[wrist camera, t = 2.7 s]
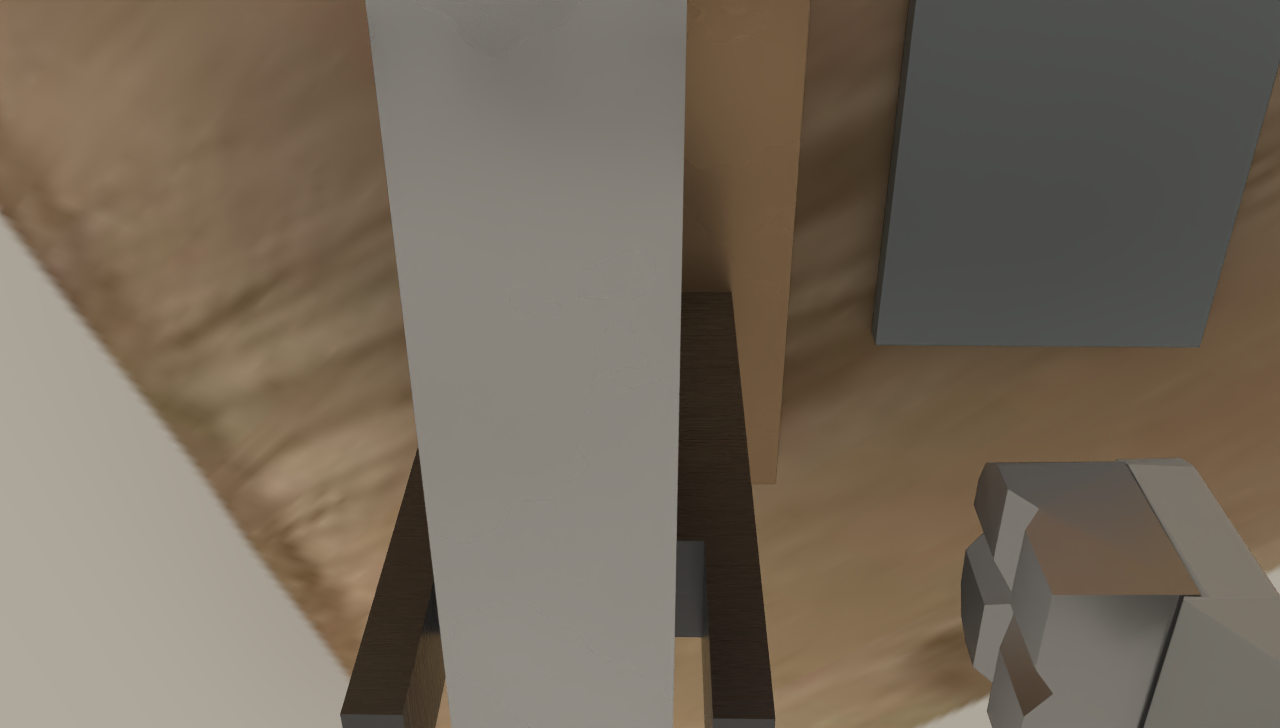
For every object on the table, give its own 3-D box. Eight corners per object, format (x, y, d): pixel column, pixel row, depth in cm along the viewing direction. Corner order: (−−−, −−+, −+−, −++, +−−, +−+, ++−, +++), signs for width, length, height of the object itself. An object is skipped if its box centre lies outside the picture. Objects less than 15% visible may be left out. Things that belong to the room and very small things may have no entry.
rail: (339, -935, 10) (234, -1114, 8) (696, -939, 10) (708, -1119, 8) (492, 720, 21) (469, 876, 18) (669, 722, 21) (670, 878, 18)
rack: (859, -798, 17) (1173, -1441, 7) (772, 458, 29) (836, 952, 18) (298, -794, 17) (-273, -1424, 7) (435, 455, 29) (304, 944, 18)
